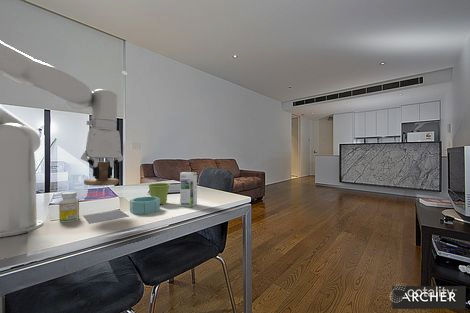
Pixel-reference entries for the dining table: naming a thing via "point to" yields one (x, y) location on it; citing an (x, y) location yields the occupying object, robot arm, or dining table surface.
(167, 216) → the dining table surface
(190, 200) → the syrup box
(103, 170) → the lid
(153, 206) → the bowl
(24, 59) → the robot arm
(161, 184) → the plant pot
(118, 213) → the mat
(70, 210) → the supplement bottle
